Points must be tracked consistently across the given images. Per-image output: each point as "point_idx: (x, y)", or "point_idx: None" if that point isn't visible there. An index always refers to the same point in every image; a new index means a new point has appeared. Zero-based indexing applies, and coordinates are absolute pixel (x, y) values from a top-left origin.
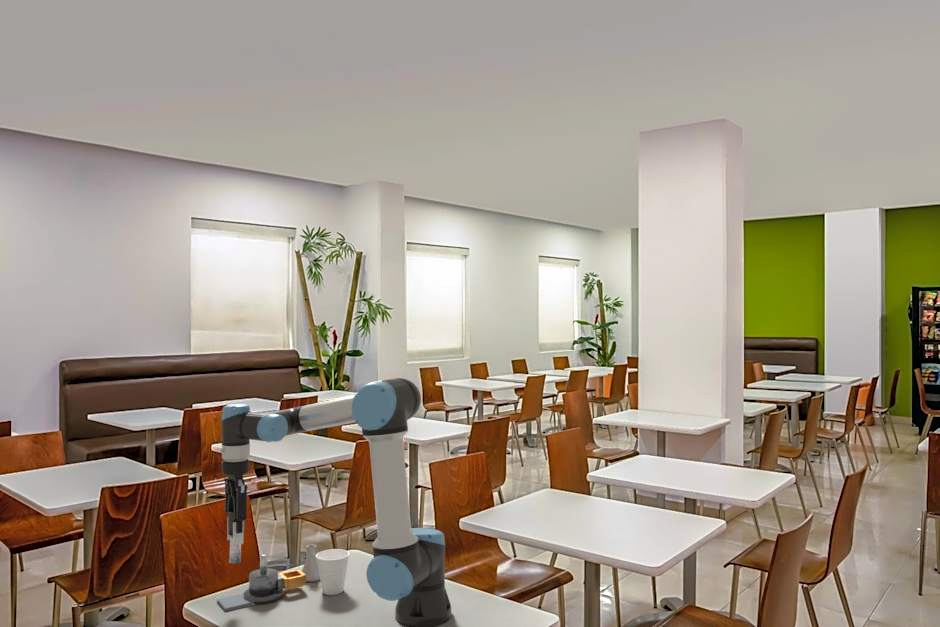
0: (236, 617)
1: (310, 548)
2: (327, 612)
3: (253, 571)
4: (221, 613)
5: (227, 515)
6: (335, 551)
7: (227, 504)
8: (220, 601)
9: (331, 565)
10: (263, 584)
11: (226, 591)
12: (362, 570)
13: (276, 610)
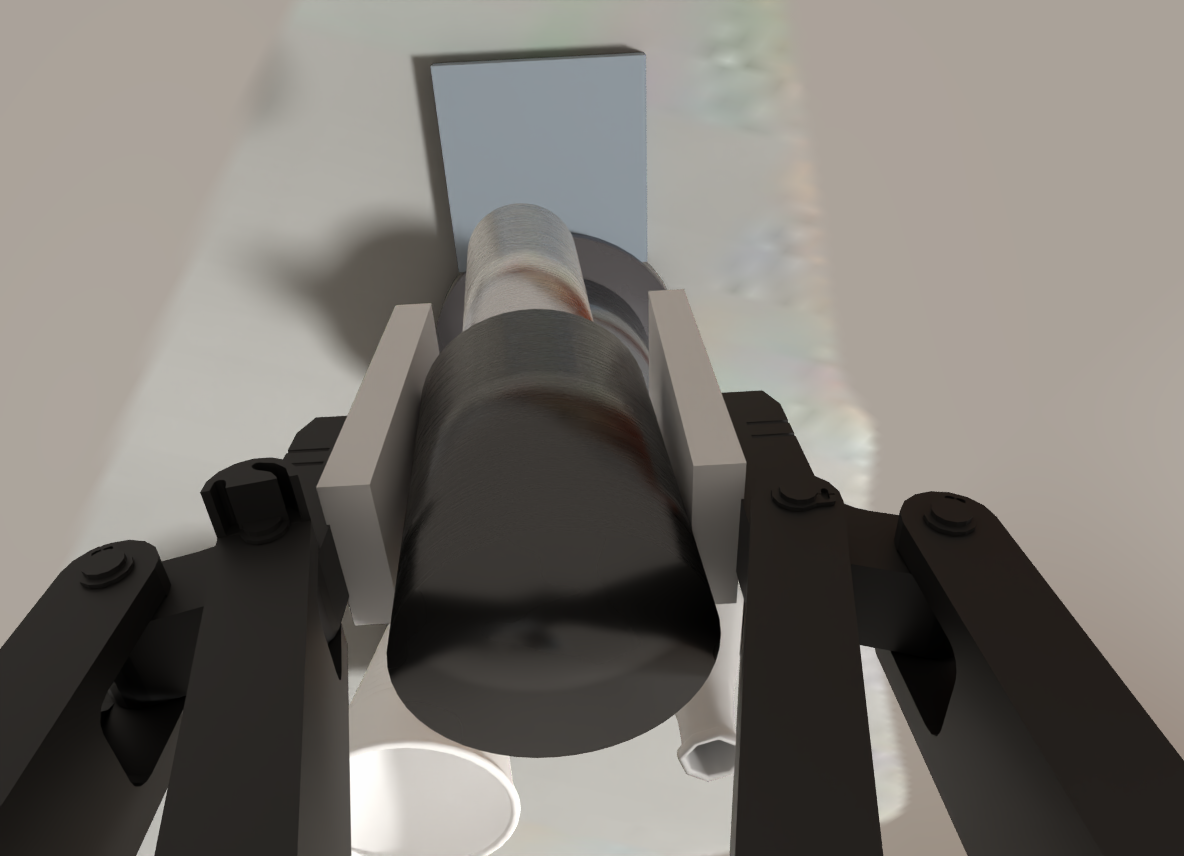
0: (291, 108)
1: (685, 746)
2: (177, 550)
3: (642, 371)
4: (409, 28)
5: (790, 479)
6: (502, 826)
7: (958, 645)
8: (584, 66)
9: None
10: None
11: (801, 162)
12: (636, 783)
13: (307, 353)
